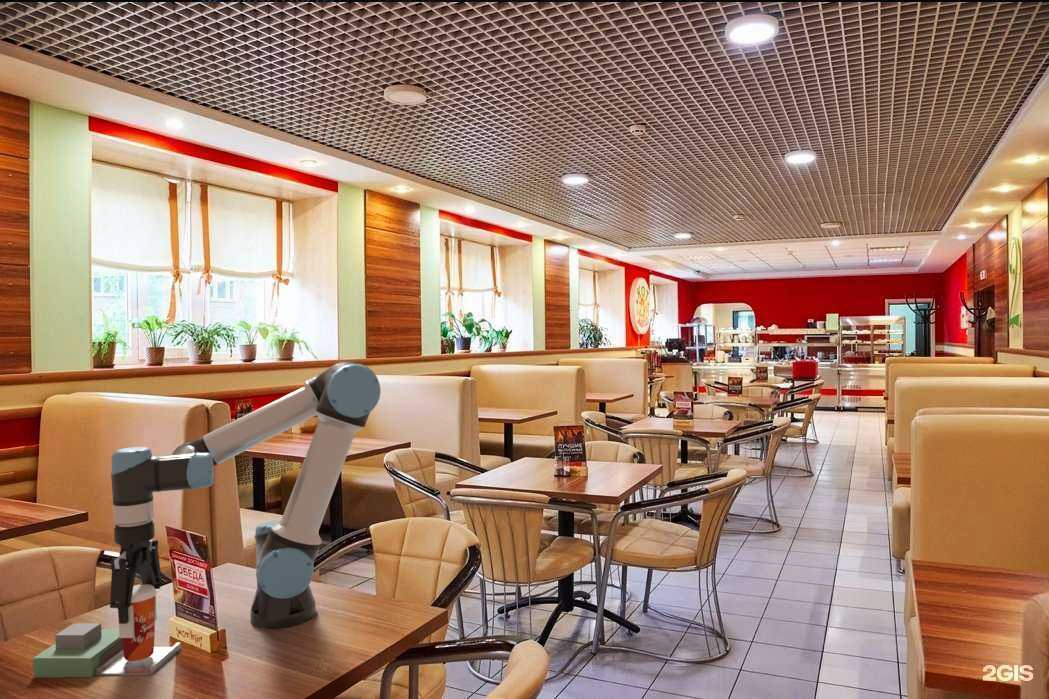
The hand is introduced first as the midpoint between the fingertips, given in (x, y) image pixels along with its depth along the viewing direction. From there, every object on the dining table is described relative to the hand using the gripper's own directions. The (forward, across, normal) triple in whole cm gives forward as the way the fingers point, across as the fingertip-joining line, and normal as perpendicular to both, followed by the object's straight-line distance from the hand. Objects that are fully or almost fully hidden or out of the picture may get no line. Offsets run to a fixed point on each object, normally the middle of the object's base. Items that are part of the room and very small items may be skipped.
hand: (138, 628), depth 156 cm
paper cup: (+6, 0, 0) cm, 6 cm away
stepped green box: (+7, 0, -12) cm, 14 cm away
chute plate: (+7, 0, 0) cm, 7 cm away
